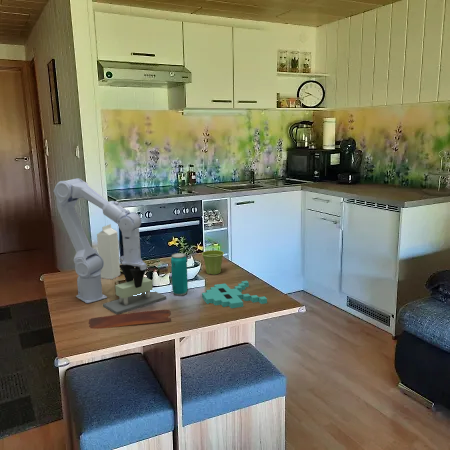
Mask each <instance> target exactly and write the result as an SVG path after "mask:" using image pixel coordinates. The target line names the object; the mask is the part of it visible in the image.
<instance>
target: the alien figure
mask: <svg viewBox="0 0 450 450" xmlns="http://www.w3.org/2000/svg"><path fill="white" fill-rule="evenodd" d="M246 288H250V283H249V281H248V280H242V281H241V282H240V283H237V285H235V286H234V287H233V288H230V286H228V285H227V283H218V284H214V285H213V286H211V287H210V288H209V289H206V290H205V291H206V292H202V293H201V298H202V299H203V301H204V302H205V303H206V304H207V305H210V304H209V303H211V304H213V305H214V306H222V307H223V308H225V307H229V308H230V309H236V308H238V309H239V308H243V307H244V302H249V301H250V302H252V303H253V304H254V303H259V304H260V305H264V304H268V298H267V297H266V296H258V295H257V294H254V295H250V294H249V293H242V292H243V290H244V291H245V290H246Z"/></svg>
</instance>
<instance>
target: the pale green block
mask: <svg viewBox="0 0 450 450" xmlns="http://www.w3.org/2000/svg"><path fill="white" fill-rule="evenodd" d="M114 287H115V289H114V290H115V295H116V296H118V298H119V297H121V298H127V297H130V296H133V295H137V294H140V293H143V292H147V291H150V290H153V280H152V279H150V278H147V277H145V276H144V277H143V281H142V286H141V287H138V288H136V287H135V284H134V279H133V281H129V282H126V281H125V282H122V283H118V284H115V286H114ZM153 291H154V290H153Z"/></svg>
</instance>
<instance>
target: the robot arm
mask: <svg viewBox="0 0 450 450" xmlns="http://www.w3.org/2000/svg"><path fill="white" fill-rule="evenodd" d="M53 194H54V196H55V197H56V198H55V199H56V209H57V211H58V213H59V216H60V217H61V220H62V222H63V225H64V228H65V230H66V232H67V235H68V237H69V240H70V242H71V243H72V246H73V248H74V250H75V255H74V257H73V262H74V270H75V273H76V275H77V280H76V282H77V285H76V286H77V295H76V296H75V297H76V298H77V299H79V300H81V301H82V302H84V303H85V304H91V303H95V302H99V301H100V300H105V299H107V298H108V296H107V295H105V294H103V285H102V284H103V283H102V278H101V269H102V268H103V266H104V261H103V259H102V257H101V256H100V255H99V254H98V249H95V248H93V247H92V246H91V244H90V241H89V239H88V237H87V235H86V232H85V230H84V227H83V225H82V223H81V219H80V217H79V214H78V213H77V210H76V209H75V206H76V204H77V202H78V200H79V199H85V200H86V201H88V202H89V203H91V204H93V205H94V206H96V207H98V208H100V209H101V210H102V214H103V216H105V217H107V218H108V219H110V220H111V221H112V222H114V223H115V224H117V226H118V228H119V230H120V231H121V236H122V245H123V247H122V249H123V255H122V256H119V263H120V271H122V273H123V275H124V278H125V279H124V280H125V282H129V281H133V280H134V284H135V287H136V288H138V287H141V286H142V281H143V277H145V273H146V272H147V270H148V268H147V266H148V265H147V263H146V262H144V261H143V259H142V258H141V241H140V240H141V239H140V227H141V225H142V218H141V216H140V215H139V214H138V212H135V211H133V212H132V211H130V210H129V209H126V208H124V207H123V206H121V205H120V202H119V201H116V200H115V201H114V200H111V201H109V200H107V199H106V198H104V196H102V195H101V194H100V193H98V192H97V191H96V190H94V189H93V188H92V187H91V186H89V184H88V182H86V181H84V180H82V178H78V177H76V178H72V179H69V180H60V181H57V183H56V185H55V187H54V189H53Z"/></svg>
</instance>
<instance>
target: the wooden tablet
mask: <svg viewBox="0 0 450 450" xmlns="http://www.w3.org/2000/svg"><path fill="white" fill-rule="evenodd" d="M171 315H172V312H171V310H170V309H157V310H145V311H138V312H129V313H121V314H118V315H117V314H115V315H107V316H98V317H92V318H89V320H88V326H89V328H90V329H93V330H95V329H98V330H99V329H100V330H103V329H111V328H120V327H121V328H122V327H128V326H129V327H130V326H131V327H132V326H141V325H151V324H154V325H155V324H163V323H164V324H165V323H170V322H172V317H170V316H171Z"/></svg>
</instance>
